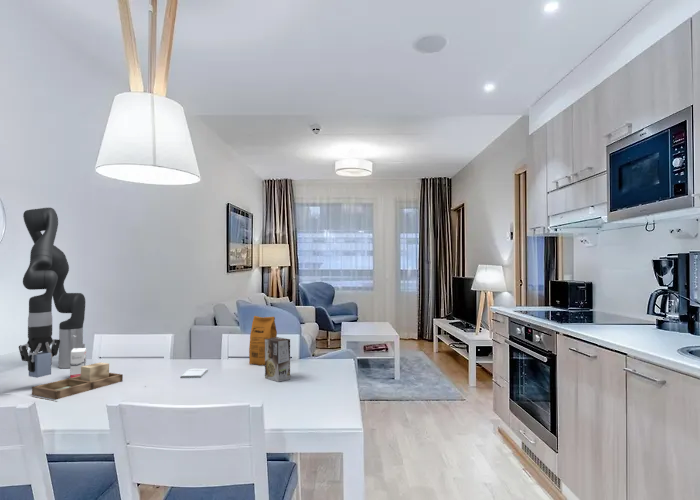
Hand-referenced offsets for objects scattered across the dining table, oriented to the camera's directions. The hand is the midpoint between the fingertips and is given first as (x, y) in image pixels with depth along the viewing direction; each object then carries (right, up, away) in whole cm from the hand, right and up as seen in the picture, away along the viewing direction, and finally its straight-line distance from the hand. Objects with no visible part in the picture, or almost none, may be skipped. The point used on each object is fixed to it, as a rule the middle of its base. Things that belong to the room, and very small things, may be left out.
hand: (39, 369), depth 166 cm
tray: (+15, -7, 0) cm, 17 cm away
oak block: (+18, -7, +5) cm, 19 cm away
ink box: (+5, -8, +16) cm, 18 cm away
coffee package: (+74, -9, +44) cm, 87 cm away
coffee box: (+86, -8, +16) cm, 87 cm away
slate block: (0, -2, 0) cm, 2 cm away
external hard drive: (+50, -9, +23) cm, 55 cm away
